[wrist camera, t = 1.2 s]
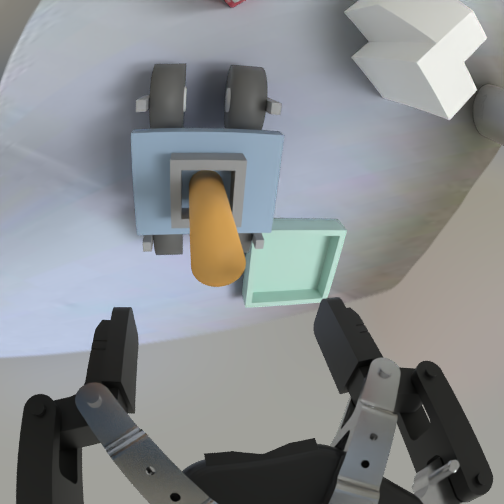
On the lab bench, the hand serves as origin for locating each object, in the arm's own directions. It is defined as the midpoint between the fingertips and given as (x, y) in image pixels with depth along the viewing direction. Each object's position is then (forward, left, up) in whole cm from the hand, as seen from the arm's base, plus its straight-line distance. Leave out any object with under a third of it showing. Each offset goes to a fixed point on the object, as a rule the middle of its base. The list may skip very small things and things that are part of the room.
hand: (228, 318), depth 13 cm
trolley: (0, 0, -24) cm, 24 cm away
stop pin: (0, 0, -15) cm, 15 cm away
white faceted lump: (-20, -17, -25) cm, 36 cm away
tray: (-12, +14, -24) cm, 31 cm away
